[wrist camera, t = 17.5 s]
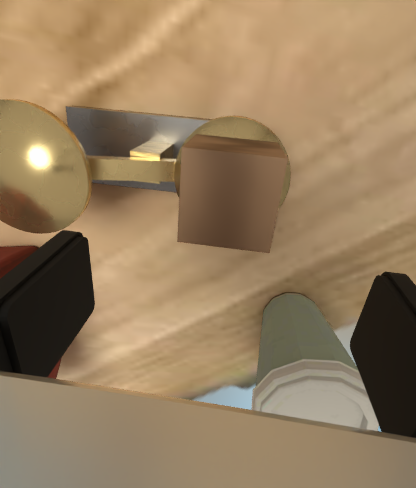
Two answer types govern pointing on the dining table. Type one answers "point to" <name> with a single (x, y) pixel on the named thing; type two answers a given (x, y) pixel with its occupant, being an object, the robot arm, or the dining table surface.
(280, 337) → the disposable coffee cup
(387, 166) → the dining table surface
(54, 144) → the balance
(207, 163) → the walnut block
